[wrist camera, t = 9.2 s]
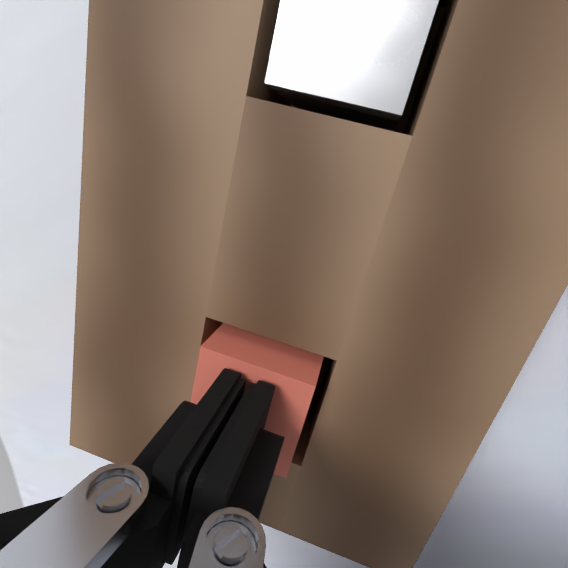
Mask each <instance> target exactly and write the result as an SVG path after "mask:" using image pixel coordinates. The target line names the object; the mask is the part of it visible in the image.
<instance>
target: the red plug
mask: <svg viewBox="0 0 568 568" xmlns="http://www.w3.org/2000/svg"><path fill="white" fill-rule="evenodd" d="M323 357H324V356H321V355H318V354H315V353H312V352H309V351H306V350H303V349H300V348H297V347H294V346H292V345H289V344H286V343H283V342H280V341H277V340H274V339H271V338H268V337H265V336H262V335H259V334H256V333H253V332H250V331H247V330H244V329H241V328H238V327H235V326H232V325H229V324H226V323H223V324H222V325H221V326H220V327H219V328H218V329H217V330H216V331H215V332H214V333H213V334H212V335H211V336H210V337H209V338H208V339H207V340H206V341H205V342H204V343H203V344H202V345H201V346H200V352H199V357H198V363H197V368H196V374H195V379H194V385H193V390H192V396H191V401H190V402H191V403H194V404H198V402H199V401H200V400H201V398H202V397H203V396H204V394H205V393H206V392H207V390H208V389H209V388H210V386H211V385H212V384H213V382H214V381H215V380H216V378H217V377H218V376H219V374H220V373H221V372H222V370H223V369H224V368H227V369H230V370H233V371H235V372H238V373H241V374H242V375H241V379H244V380H246V385H245V389H244V393H245V391H246V389H247V387H248V386H249V384H250V382H252V383H255V384H257V382H258V380H261V381H264V382H267V383H270V384H272V385H275V391H274V394H273V398H272V402H271V405H270V409H269V412H268V416H267V420H266V423H265V427H264V430H267V431H270V432H272V433H275V434H278V435H280V436H283V437H285V438H284V442H283V445H282V448H281V452H280V455H279V458H278V461H277V464H276V468H275V471H274V474H276V475H279V476H282V477H284V478H286V477H287V474H288V471H289V468H290V465H291V462H292V459H293V455H294V452H295V449H296V446H297V443H298V440H299V437H300V434H301V431H302V428H303V424H304V421H305V418H306V415H307V412H308V409H309V406H310V403H311V400H312V397H313V394H314V390H315V387H316V384H317V380H318V376H319V372H320V369H321V365H322V361H323ZM244 393H243V394H244Z"/></svg>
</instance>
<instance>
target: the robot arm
mask: <svg viewBox="0 0 568 568" xmlns="http://www.w3.org/2000/svg"><path fill="white" fill-rule="evenodd" d="M241 375H242V374H241V373H238V372H235V371H233V370H230V369H227V368H224V369H223V370H222V372H221V373H220V374H219V376H218V377H217V378H216V380H215V381H214V382H213V384H212V385H211V386H210V388H209V389H208V390H207V392H206V393H205V394H204V396H203V397H202V398H201V400H200V401H199V402H198V404H194V403H191V402H189V401H186V400H185V401H183V402H182V403H181V404H180V405H179V406H178V408H177V409H176V410H175V411H174V412H173V414H172V415H171V416H170V417H169V419H168V420H167V421H166V422H165V424H164V425H163V426H162V427H161V428H160V430H159V431H158V432H157V433H156V435H155V436H154V437H153V438H152V439H151V441H150V442H149V443H148V444H147V446H146V447H145V448H144V449H143V451H142V452H141V453H140V454H139V455H138V457H137V458H136V459H135V460H134V462H133V463H132V464H128V463H114V464H108V465H106V466H103V467H101V468H99V469H97V470H96V471H94V472H93V473H91V474H90V475H88V476H87V477H86V478H85V479H84V480H83V481H81V482H80V483H79V484H78V485H77V486H76V487H74V488H73V489H72V490H71V491H70V492H68V493H67V494H66V495H65V496H63V497H60V498H56V499H52V500H49V501H45V502H42V503H38V504H34V505H31V506H27V507H24V508H20V509H17V510H13V511H9V512H6V513H2V514H0V568H162V567H163V565H164V564H165V562H166V563H168V564H170V565H172V564H173V562H174V560H175V558H176V557H177V555H178V553H179V551H180V549H181V551H180V556H179V560H178V565H177V568H266V566H265V564H264V557H265V549H266V538H265V533H264V530H263V527H262V525H261V524H260V523H259V521H258V520H259V517H260V514H261V511H262V508H263V505H264V502H265V499H266V496H267V493H268V490H269V486H270V483H271V480H272V477H273V474H274V471H275V468H276V464H277V461H278V458H279V455H280V452H281V448H282V445H283V442H284V438H285V437H283V436H280V435H278V434H275V433H272V432H270V431H267V430H264V427H265V423H266V420H267V416H268V412H269V409H270V405H271V402H272V398H273V394H274V391H275V385H272V384H270V383H267V382H264V381H261V380H258V382H257V384H255V383H252V382H250V384H249V386H248V387H247V389H246V391H245V393H244V389H245V385H246V380H244V379H241ZM243 393H244V394H243Z"/></svg>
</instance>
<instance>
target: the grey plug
mask: <svg viewBox="0 0 568 568" xmlns="http://www.w3.org/2000/svg"><path fill="white" fill-rule="evenodd" d="M438 2H439V0H281V1H280V6H279V12H278V17H277V22H276V27H275V32H274V37H273V42H272V47H271V52H270V57H269V63H268V68H267V73H266V78H265V84H266V85H268V86H269V87H270V88H271V89H273V90H274V91H275V92H277V93H278V94H279V95H281V96H282V97H283V98H285V99H286V100H287V101H288V102H290V103H291V104H292V105H294V106H295V107H296V108H298V109H302V110H307V111H311V112H315V113H319V114H323V115H327V116H332V117H336V118H340V119H344V120H348V121H352V122H356V123H361V124H365V125H369V126H373V127H377V128H381V129H385V130H390V131H394V129H395V127H396V125H397V124H398V122H399V120H400V118H401V116H402V113H403V110H404V107H405V104H406V101H407V98H408V95H409V92H410V89H411V85H412V82H413V79H414V76H415V73H416V70H417V67H418V64H419V61H420V57H421V54H422V51H423V48H424V45H425V42H426V39H427V36H428V33H429V30H430V26H431V23H432V20H433V17H434V14H435V11H436V8H437V5H438Z"/></svg>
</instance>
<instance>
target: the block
mask: <svg viewBox="0 0 568 568" xmlns="http://www.w3.org/2000/svg"><path fill="white" fill-rule="evenodd" d="M280 1H281V0H89V15H88V38H87V61H86V84H85V106H84V129H83V152H82V175H81V198H80V220H79V243H78V266H77V289H76V312H75V334H74V357H73V380H72V403H71V426H70V445H72V446H74V447H77V448H79V449H81V450H84V451H86V452H89V453H91V454H94V455H96V456H98V457H101V458H103V459H106V460H108V461H111V462H113V463H128V464H132V463H133V462H134V460H135V459H136V458H137V457H138V455H139V454H140V453H141V452H142V451H143V449H144V448H145V447H146V446H147V444H148V443H149V442H150V441H151V439H152V438H153V437H154V436H155V435H156V433H157V432H158V431H159V430H160V428H161V427H162V426H163V425H164V424H165V422H166V421H167V420H168V419H169V417H170V416H171V415H172V414H173V412H174V411H175V410H176V409H177V408H178V406H179V405H180V404H181V403H182V402H183V401H185V400H186V401H189V402H190V401H191V396H192V390H193V385H194V379H195V374H196V368H197V363H198V357H199V352H200V346H201V345H202V344H203V343H204V342H205V341H206V340H207V339H208V338H209V337H210V336H211V335H212V334H213V333H214V332H215V331H216V330H217V329H218V328H219V327H220V326H221V325H222V324H223V323H226V324H229V325H232V326H235V327H238V328H241V329H244V330H247V331H250V332H253V333H256V334H259V335H262V336H265V337H268V338H271V339H274V340H277V341H280V342H283V343H286V344H289V345H292V346H294V347H297V348H300V349H303V350H306V351H309V352H312V353H315V354H318V355H321V356H324V357H323V361H322V365H321V369H320V372H319V376H318V380H317V384H316V387H315V390H314V394H313V397H312V400H311V403H310V406H309V409H308V412H307V415H306V418H305V421H304V424H303V428H302V431H301V434H300V437H299V440H298V443H297V446H296V449H295V452H294V455H293V459H292V462H291V465H290V468H289V471H288V474H287V477H286V478H284V477H282V476H279V475H276V474H273V477H272V480H271V483H270V486H269V490H268V493H267V496H266V499H265V502H264V505H263V508H262V511H261V514H260V517H259V520H258V521H259V522H260V523H262V524H265V525H267V526H269V527H272V528H274V529H277V530H279V531H282V532H284V533H287V534H289V535H291V536H294V537H296V538H299V539H301V540H304V541H306V542H308V543H311V544H313V545H316V546H318V547H321V548H323V549H326V550H328V551H330V552H333V553H335V554H338V555H340V556H343V557H345V558H348V559H350V560H352V561H355V562H357V563H360V564H362V565H365V566H367V567H370V568H413V566H414V564H415V562H416V561H417V559H418V557H419V555H420V553H421V551H422V550H423V548H424V546H425V544H426V542H427V541H428V539H429V537H430V535H431V533H432V531H433V530H434V528H435V526H436V524H437V522H438V520H439V519H440V517H441V515H442V513H443V511H444V510H445V508H446V506H447V504H448V502H449V500H450V499H451V497H452V495H453V493H454V491H455V489H456V488H457V486H458V484H459V482H460V480H461V478H462V477H463V475H464V473H465V471H466V469H467V468H468V466H469V464H470V462H471V460H472V458H473V457H474V455H475V453H476V451H477V449H478V447H479V446H480V444H481V442H482V440H483V438H484V437H485V435H486V433H487V431H488V429H489V427H490V426H491V424H492V422H493V420H494V418H495V416H496V415H497V413H498V411H499V409H500V407H501V405H502V404H503V402H504V400H505V398H506V396H507V395H508V393H509V391H510V389H511V387H512V385H513V384H514V382H515V380H516V378H517V376H518V374H519V373H520V371H521V369H522V367H523V365H524V363H525V362H526V360H527V358H528V356H529V354H530V353H531V351H532V349H533V347H534V345H535V343H536V342H537V340H538V338H539V336H540V334H541V332H542V331H543V329H544V327H545V325H546V323H547V322H548V320H549V318H550V316H551V314H552V312H553V311H554V309H555V307H556V305H557V303H558V301H559V300H560V298H561V296H562V294H563V292H564V290H565V289H566V287H567V285H568V0H439V2H438V5H437V8H436V11H435V14H434V17H433V20H432V23H431V26H430V30H429V33H428V36H427V39H426V42H425V45H424V48H423V51H422V54H421V57H420V61H419V64H418V67H417V70H416V73H415V76H414V79H413V82H412V85H411V89H410V92H409V95H408V98H407V101H406V104H405V107H404V110H403V113H402V116H401V118H400V120H399V122H398V124H397V125H396V127H395V129H394V131H390V130H385V129H381V128H377V127H373V126H369V125H365V124H361V123H356V122H352V121H348V120H344V119H340V118H336V117H332V116H327V115H323V114H319V113H315V112H311V111H307V110H302V109H298V108H296V107H295V106H294V105H292V104H291V103H290V102H288V101H287V100H286V99H285V98H283V97H282V96H281V95H279V94H278V93H277V92H275V91H274V90H273V89H271V88H270V87H269V86H268V85H266V84H265V78H266V73H267V68H268V63H269V57H270V52H271V47H272V42H273V37H274V32H275V27H276V22H277V17H278V12H279V6H280Z"/></svg>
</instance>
